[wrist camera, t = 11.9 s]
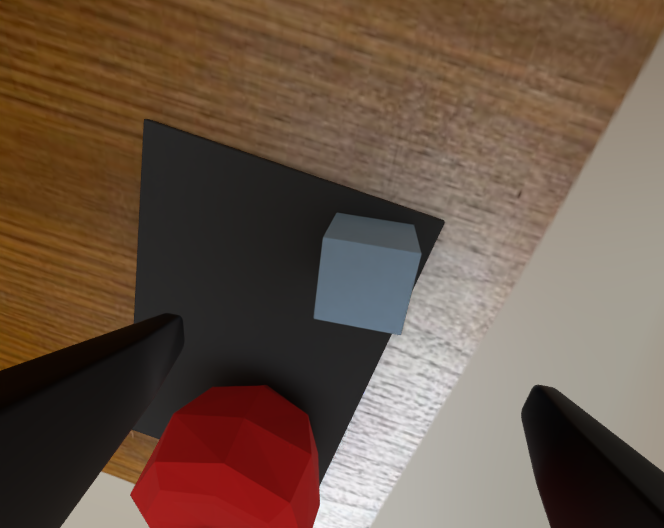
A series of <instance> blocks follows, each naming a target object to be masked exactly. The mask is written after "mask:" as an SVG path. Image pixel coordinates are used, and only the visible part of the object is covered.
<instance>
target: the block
mask: <svg viewBox="0 0 664 528" xmlns="http://www.w3.org/2000/svg"><path fill="white" fill-rule="evenodd" d="M420 258H421V251H420V247H419V243H418V239H417V235H416V231H415V227H414V225H411V224H405V223H399V222H393V221H387V220H380V219H374V218H368V217H362V216H355V215H349V214H343V213H336V215H335V217H334V218H333V220H332V222H331V224H330V226H329V228H328V229H327V231H326V233H325V235H324V237H323V241H322V250H321V258H320V267H319V275H318V284H317V292H316V301H315V309H314V319H318V320H323V321H329V322H334V323H339V324H344V325H350V326H355V327H360V328H365V329H371V330H376V331H381V332H386V333H391V334H397V335H401V333H402V329H403V325H404V321H405V317H406V313H407V309H408V305H409V301H410V297H411V293H412V289H413V285H414V281H415V277H416V274H417V270H418V266H419V262H420Z"/></svg>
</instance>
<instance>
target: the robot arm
mask: <svg viewBox="0 0 664 528" xmlns="http://www.w3.org/2000/svg"><path fill="white" fill-rule="evenodd" d="M184 343H185V338H184V325H183V319H182V317H181V316H180V315H176V314H171V313H164V314H161V315H158V316H155V317H152V318H149V319H146V320H144V321H141V322H138V323H135V324H132V325H129V326H127V327H124V328H121V329H118V330H115V331H112V332H109V333H107V334H104V335H101V336H98V337H95V338H92V339H89V340H87V341H84V342H81V343H78V344H75V345H72V346H69V347H67V348H64V349H61V350H58V351H55V352H52V353H50V354H47V355H44V356H41V357H38V358H35V359H32V360H30V361H27V362H24V363H21V364H18V365H15V366H12V367H10V368H7V369H4V370H1V371H0V528H60V527H61V526H62V524H63V523H64V522H65V520H66V519H67V517H68V516H69V515H70V513H71V512H72V511H73V509H74V508H75V506H76V505H77V503H78V502H79V501H80V500H81V498H82V497H83V495H84V494H85V493H86V491H87V490H88V489H89V487H90V486H91V484H92V483H93V482H94V480H95V479H96V478H97V476H98V475H99V473H100V472H101V471H102V469H103V468H104V467H105V465H106V464H107V462H108V461H109V460H110V458H111V457H112V456H113V454H114V453H115V451H116V450H117V449H118V447H119V446H120V445H121V443H122V442H123V440H124V439H125V438H126V436H127V435H128V434H129V432H130V431H131V430H132V428H133V427H134V425H135V424H136V423H137V421H138V420H139V419H140V417H141V416H142V414H143V413H144V412H145V410H146V409H147V407H148V406H149V405H150V403H151V402H152V400H153V399H154V397H155V396H156V394H157V392H158V391H159V389H160V387H161V386H162V384H163V382H164V380H165V379H166V377H167V375H168V374H169V372H170V370H171V368H172V367H173V365H174V363H175V362H176V360H177V358H178V356H179V355H180V353H181V351H182V349H183V347H184ZM521 418H522V423H523V427H524V432H525V437H526V441H527V445H528V450H529V454H530V459H531V463H532V468H533V472H534V476H535V480H536V484H537V487H538V490H539V494H540V496H541V500H542V503H543V506H544V509H545V512H546V514H547V518H548V520H549V523H550V527H551V528H664V472H663V471H661V470H660V469H659V468H658V467H656V466H655V465H654V464H652V463H651V462H650V461H648V460H647V459H646V458H645V457H643V456H642V455H641V454H639V453H638V452H637V451H636V450H634V449H633V448H632V447H630V446H629V445H628V444H627V443H625V442H624V441H623V440H621V439H620V438H619V437H617V436H616V435H615V434H614V433H612V432H611V431H610V430H608V429H607V428H606V427H605V426H603V425H602V424H601V423H599V422H598V421H597V420H596V419H594V418H593V417H592V416H590V415H589V414H588V413H586V412H585V411H584V410H583V409H581V408H580V407H579V406H577V405H576V404H575V403H574V402H572V401H571V400H570V399H568V398H567V397H566V396H565V395H563V394H562V393H561V392H559V391H558V390H557V389H555V388H553V387H548V386H543V385H535V386H534V387H533V388H532V389H531V391H530V394H529V396H528V398H527V400H526V402H525V404H524V406H523V408H522V412H521Z"/></svg>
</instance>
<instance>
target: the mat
mask: <svg viewBox="0 0 664 528" xmlns="http://www.w3.org/2000/svg"><path fill="white" fill-rule="evenodd" d="M336 213H343V214H349V215H355V216H362V217H368V218H374V219H380V220H387V221H393V222H399V223H405V224H411V225H414V227H415V231H416V235H417V239H418V243H419V247H420V251H421V258H420V262H419V266H418V270H417V274H416V277H415V281H414V285H413V288H414V286H415V284H416V282H417V280H418V278H419V276H420V274H421V271H422V269H423V267H424V265H425V263H426V261H427V259H428V257H429V255H430V253H431V250H432V248H433V246H434V244H435V242H436V240H437V238H438V236H439V234H440V232H441V229H442V227H443V225H444V223H445V222H444V220H442V219H439V218H436V217H433V216H430V215H428V214H425V213H422V212H419V211H416V210H413V209H410V208H407V207H404V206H401V205H398V204H395V203H392V202H390V201H387V200H384V199H381V198H378V197H375V196H372V195H369V194H366V193H363V192H360V191H357V190H354V189H352V188H349V187H346V186H343V185H340V184H337V183H334V182H331V181H328V180H325V179H322V178H319V177H316V176H314V175H311V174H308V173H305V172H302V171H299V170H296V169H293V168H290V167H287V166H284V165H281V164H279V163H276V162H273V161H270V160H267V159H264V158H261V157H258V156H255V155H252V154H249V153H246V152H243V151H241V150H238V149H235V148H232V147H229V146H226V145H223V144H220V143H217V142H214V141H211V140H208V139H205V138H203V137H200V136H197V135H194V134H191V133H188V132H185V131H182V130H179V129H176V128H173V127H170V126H167V125H165V124H162V123H159V122H156V121H153V120H150V119H144V129H143V149H142V170H141V190H140V210H139V230H138V250H137V271H136V291H135V311H134V324H135V323H138V322H141V321H144V320H146V319H149V318H152V317H155V316H158V315H161V314H164V313H171V314H176V315H180V316H181V317H182V319H183V325H184V338H185V343H184V347H183V349H182V351H181V353H180V355H179V356H178V358H177V360H176V362H175V363H174V365H173V367H172V368H171V370H170V372H169V374H168V375H167V377H166V379H165V380H164V382H163V384H162V386H161V387H160V389H159V391H158V392H157V394H156V396H155V397H154V399H153V400H152V402H151V403H150V405H149V406H148V407H147V409H146V410H145V412H144V413H143V414H142V416H141V417H140V419H139V420H138V421H137V423H136V424H135V425H134V427H133V428H132V430H135V431H137V432H140V433H143V434H146V435H149V436H151V437H154V438H157V439H160V438H161V436H162V434H163V432H164V431H165V429H166V427H167V425H168V423H169V421H170V419H171V417H172V416H173V414H174V413H175V412H177V411H178V410H180V409H181V408H182V407H184V406H185V405H187V404H188V403H190V402H191V401H193V400H194V399H196V398H197V397H199V396H200V395H201V394H203V393H204V392H206V391H207V390H209V389H210V388H212V387H229V386H260V385H267V386H269V387H270V388H272V389H273V390H274V391H276V392H277V393H278V394H280V395H281V396H283V397H284V398H285V399H287V400H288V401H290V402H291V403H292V404H294V405H295V406H296V407H298V408H299V409H301V410H302V411H303V412H305V413H306V414H307V415H308V417H309V421H310V425H311V429H312V432H313V436H314V440H315V444H316V447H317V451H318V467H319V486H320V484H321V482H322V480H323V477H324V475H325V473H326V471H327V469H328V467H329V465H330V463H331V461H332V458H333V456H334V454H335V452H336V450H337V448H338V446H339V444H340V442H341V440H342V437H343V435H344V433H345V431H346V429H347V427H348V425H349V423H350V421H351V419H352V416H353V414H354V412H355V410H356V408H357V406H358V404H359V402H360V400H361V398H362V395H363V393H364V391H365V389H366V387H367V385H368V383H369V381H370V379H371V377H372V374H373V372H374V370H375V368H376V366H377V364H378V362H379V360H380V358H381V356H382V353H383V351H384V349H385V347H386V345H387V343H388V341H389V339H390V337H391V335H392V334H391V333H386V332H381V331H376V330H371V329H365V328H360V327H355V326H350V325H344V324H339V323H334V322H329V321H323V320H318V319H314V309H315V301H316V292H317V284H318V275H319V267H320V258H321V250H322V241H323V237H324V235H325V233H326V231H327V229H328V228H329V226H330V224H331V222H332V220H333V218H334V217H335V215H336ZM412 290H413V289H412Z"/></svg>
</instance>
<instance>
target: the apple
mask: <svg viewBox="0 0 664 528" xmlns="http://www.w3.org/2000/svg"><path fill="white" fill-rule="evenodd" d="M130 496H131V497H132V499H133V501H134V502H135V504H136V506H137V507H138V509H139V511H140V512H141V514H142V516H143V517H144V519H145V521H146V522H147V524H148V525H149V527H150V528H313V525H314V522H315V518H316V515H317V512H318V509H319V506H320V494H319V467H318V451H317V447H316V444H315V440H314V436H313V432H312V429H311V425H310V421H309V417H308V415H307V414H306V413H305V412H303V411H302V410H301V409H299V408H298V407H296V406H295V405H294V404H292V403H291V402H290V401H288V400H287V399H285V398H284V397H283V396H281V395H280V394H278V393H277V392H276V391H274V390H273V389H272V388H270V387H269V386H267V385H260V386H229V387H212V388H210V389H209V390H207V391H206V392H204V393H203V394H201V395H200V396H199V397H197V398H196V399H194V400H193V401H191V402H190V403H188V404H187V405H185V406H184V407H182V408H181V409H180V410H178V411H177V412H175V413H174V414H173V416H172V417H171V419H170V421H169V423H168V425H167V427H166V429H165V431H164V432H163V434H162V436H161V438H160V440H159V442H158V444H157V445H156V447H155V449H154V451H153V453H152V455H151V457H150V459H149V460H148V462H147V464H146V466H145V468H144V470H143V472H142V473H141V475H140V477H139V479H138V481H137V483H136V485H135V487H134V489H133V490H132V492H131V494H130Z"/></svg>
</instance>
